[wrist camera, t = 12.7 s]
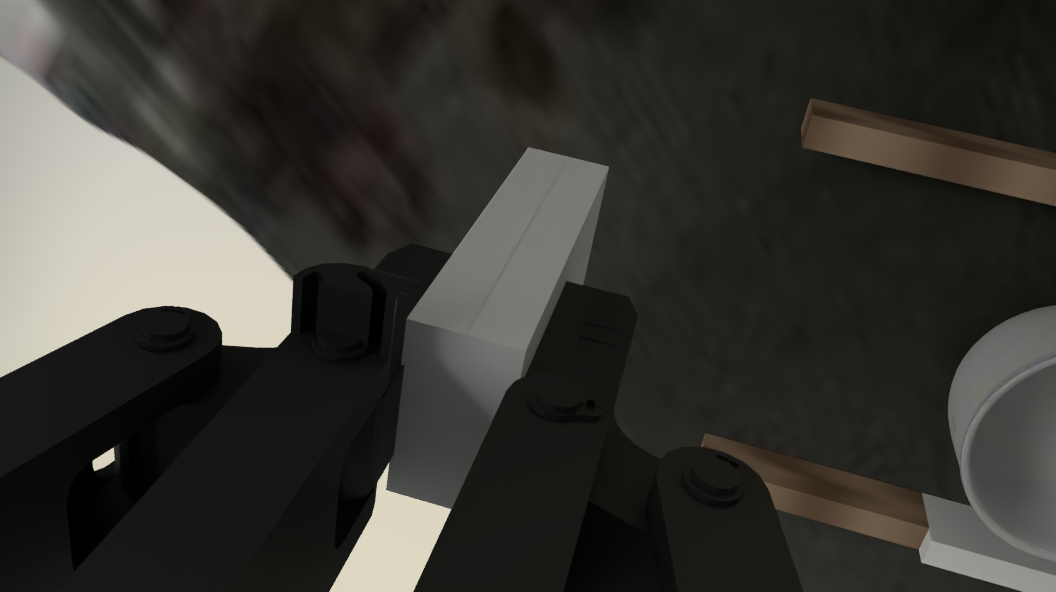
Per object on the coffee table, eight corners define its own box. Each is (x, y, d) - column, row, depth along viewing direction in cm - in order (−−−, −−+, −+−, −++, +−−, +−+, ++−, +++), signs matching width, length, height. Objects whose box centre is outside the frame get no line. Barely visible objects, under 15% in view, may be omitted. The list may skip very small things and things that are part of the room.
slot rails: (698, 454, 54) (694, 486, 51) (810, 97, 44) (812, 115, 42) (912, 513, 52) (919, 549, 50) (1078, 158, 43) (1097, 179, 40)
